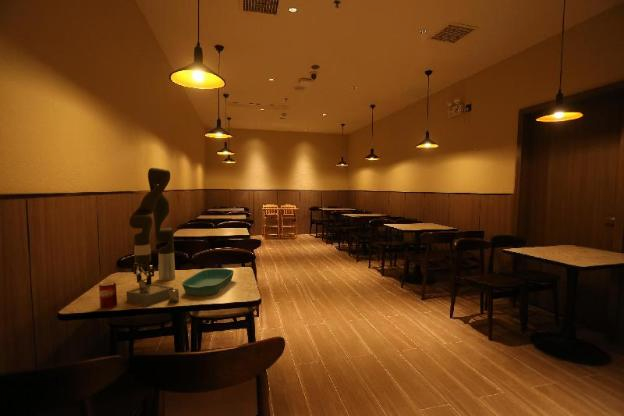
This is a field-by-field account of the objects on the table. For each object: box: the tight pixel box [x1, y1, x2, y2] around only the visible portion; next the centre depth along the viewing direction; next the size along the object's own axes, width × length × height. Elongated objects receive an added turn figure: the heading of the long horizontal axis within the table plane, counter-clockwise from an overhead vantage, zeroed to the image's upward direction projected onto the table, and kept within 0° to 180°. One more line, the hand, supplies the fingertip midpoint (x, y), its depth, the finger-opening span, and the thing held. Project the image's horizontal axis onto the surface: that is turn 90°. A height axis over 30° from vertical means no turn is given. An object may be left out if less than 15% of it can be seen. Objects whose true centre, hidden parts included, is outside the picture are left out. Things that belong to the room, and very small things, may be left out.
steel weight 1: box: [138, 278, 150, 293], centre depth 166 cm, size 5×5×6 cm
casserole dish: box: [181, 267, 235, 297], centre depth 186 cm, size 37×22×7 cm, turn 174°
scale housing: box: [125, 283, 174, 307], centre depth 169 cm, size 16×16×5 cm
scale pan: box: [133, 285, 167, 295], centre depth 169 cm, size 12×12×2 cm
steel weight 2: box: [167, 288, 180, 304], centre depth 164 cm, size 5×5×6 cm
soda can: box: [98, 280, 118, 310], centre depth 158 cm, size 7×7×12 cm
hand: (144, 283), depth 166 cm, fingers open, 8 cm apart
